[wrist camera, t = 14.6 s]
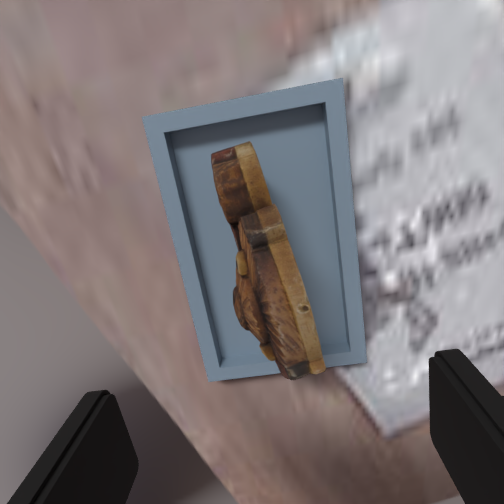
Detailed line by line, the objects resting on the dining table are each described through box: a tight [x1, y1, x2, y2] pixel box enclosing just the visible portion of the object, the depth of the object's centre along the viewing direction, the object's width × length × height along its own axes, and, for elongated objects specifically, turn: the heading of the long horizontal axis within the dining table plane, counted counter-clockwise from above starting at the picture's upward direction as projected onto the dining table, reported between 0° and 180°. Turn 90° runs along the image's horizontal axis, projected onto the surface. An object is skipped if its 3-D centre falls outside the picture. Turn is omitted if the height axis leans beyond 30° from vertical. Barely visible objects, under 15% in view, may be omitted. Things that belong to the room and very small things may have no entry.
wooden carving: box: [211, 141, 326, 380], centre depth 22 cm, size 16×5×10 cm, turn 22°
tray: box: [142, 78, 367, 382], centre depth 26 cm, size 13×21×2 cm, turn 10°
